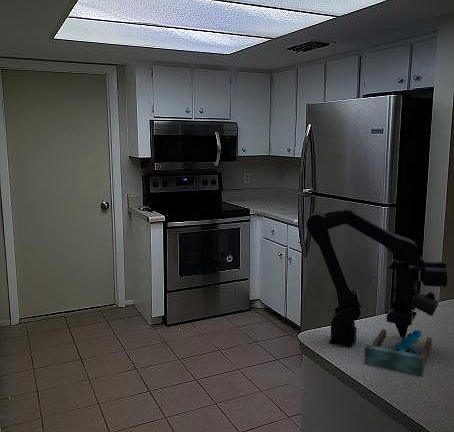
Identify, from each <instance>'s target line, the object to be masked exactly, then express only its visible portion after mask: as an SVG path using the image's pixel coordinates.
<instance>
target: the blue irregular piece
mask: <svg viewBox="0 0 454 432" xmlns="http://www.w3.org/2000/svg"><path fill="white" fill-rule="evenodd" d="M421 337H422V331H421V330H420V329H418V330H415V329H414V331H413V332H410V333H409V332H408V334H406V336H405V338H401V339H400V343H399V342H397V343H396V344H395V345H394V348H392V350H397V351H402V352H407V353H412V354H417V355H420V353H419V352H418V351H417V350H416V349H415V348H414V346H413V343H414V344H416V343H417V342H419V338H421Z"/></svg>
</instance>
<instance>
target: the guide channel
mask: <svg viewBox="0 0 454 432" xmlns="http://www.w3.org/2000/svg"><path fill="white" fill-rule="evenodd" d="M386 336H387V329H386V328H385V329H381V330H380V331H379V333H378V335H377V336H376V338H375V339H374V341H373V343H372V344H366V345H365V346H364V361H363V362H364V364H366V365H370V366H373V365H374V367H378V368H382V369H386V370H387V369H388V370H392V369H393V371H396V370H398V371H397V372H401V371H402V373H406V374H410V375H411V374H412V375H416V376H419V377H422V375H423V372H424V369H425V365H426V362H427V359H428V357H429V353H430V351H431V347H432V342H433V338H432V337H429V336H428V337H426V340H425V342H424V346H423V347H422V351H421V353H420V354H419V355H417V354H413V353H412V352H411V353H407V352H402V351H397V350H392V349H393V348H392V349H391V348H387V347H382V346H381V345H382V344H383V342H384V340H385V338H386ZM381 343H382V344H381Z"/></svg>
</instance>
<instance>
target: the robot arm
mask: <svg viewBox="0 0 454 432" xmlns="http://www.w3.org/2000/svg"><path fill="white" fill-rule="evenodd" d="M342 225H343V226H344V225H347V226H349V227H351V228H353V229H355V230H356V231H358V232H360V233H361V234H364V235H365V236H366V237H368V238H369V239H372V240H374V241H375V242H377V243H378V244H381V245H382V246H383V247H385V249H387V250H388V251H389V252H390V253H391V254H392V256H394V257H395V258H393V260H392V261H389V263H388V264H387V268H388V269H390V270H394V282H393V283H394V286H393V288H392V293H393V301H392V303H391V304H392V305H391V306H392V308H391V309H390V310H389V311H388V312H387V314H386V322H387V323H390V324H394V325H395V328H396V330H397V333H398V334H399V336H400V338H401V339H403V338H406V337H407V332H408V330H409V326H412V324H413V321H414V320H415V318H416V316H417V311H416V309H417V310H419V311H420V312H423V313H425V314H426V315H428V316H430V317H433V316H434V313H435V312H436V310H437V308H438V306H439V301H438V300H437V299H436V294H435V293H433V292H431V291H429V292H428V293H426V294H424V293H421V292H419V288H418V286H417V279H418V282H419V283H421V284H422V286H423V287H436V288H437V287H438V288H447V285H448V278H449V277H448V275H447V264H446V262H445V261H425V260H424V258H423V257H422V256H420V254H419V253H420V250H419V248H418V246H417V244H416V242H415V241H414V240H412V239H411V238H408V237H406V236H402V235H400V234H396V233H393V232H390V231H388V230H386V229H385V228H383V227H381V226H379V225H377V224H376V223H374V222H372V221H370V220H369V219H367V218H366V217H364V216H361V215H360V214H358V213H357V212H355V211H353V209H352V208H346V207H345V208H344V209H341V210H335V211H331V212H327V213H326V212H324V213H323V212H321V211H317V212H313V213H312V214H311V215H310V216H309V217H308V219H307V221H306V230H307V231H308V233H309V234H310V236H311V238H312V239H313V240H314V242H315V243H316V244H317V246H318V247H319V249H320V252H321V255H322V258H323V260H324V263H325V265H326V268H327V270H328V273H329V276H330V278H331V281H332V283H333V286H334V288H335V291H336V297H337V304H338V306H336V307H334V309H333V313H332V318H331V321H330V339H329V340H328V343H329V344H332V345H336V346H340V347H341V346H342V347H345V348H346V347H347V348H351V347H352V346H353V345H354V344H355V343H356V341H357V329H358V327H356V321H355V320H358V319H359V318H360V316H361V313H362V310H361V309H362V308H363V299H362V298H361V297H360V293H359V290H358V288H357V287H356V288H354V289H353V288H352V286H350V284H349V281H348V279H347V276H346V274H345V271H344V269H343V266H342V264H341V260H340V258H339V255H338V253H337V251H336V248H335V245H334V243H333V239H332V233H331V229H333V228H337V227H339V226H342ZM396 258H397V259H398V260H400V261H397V260H396ZM417 275H418V278H417Z"/></svg>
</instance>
